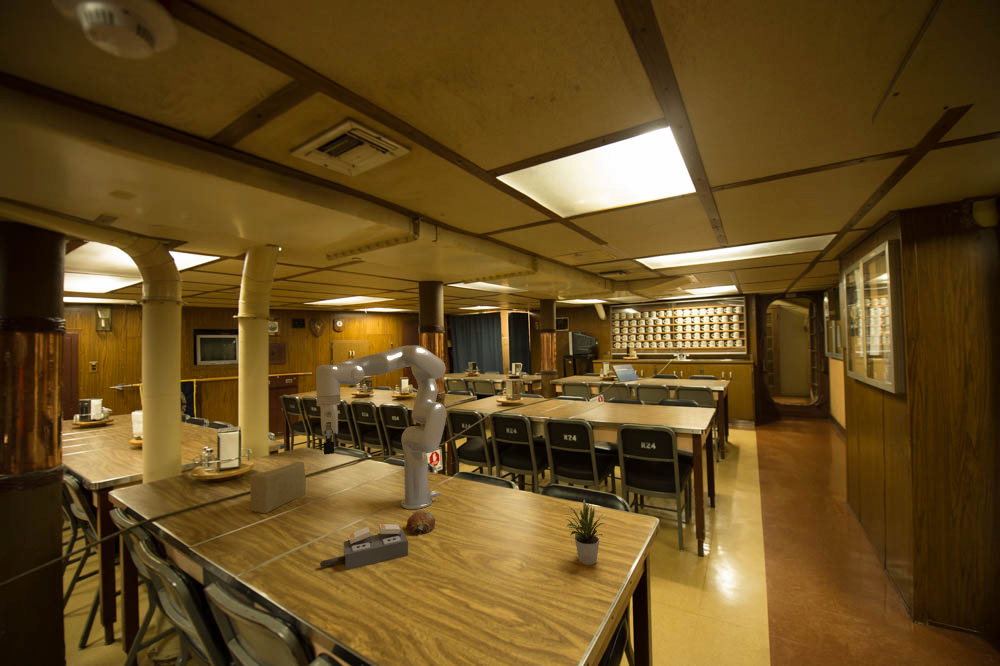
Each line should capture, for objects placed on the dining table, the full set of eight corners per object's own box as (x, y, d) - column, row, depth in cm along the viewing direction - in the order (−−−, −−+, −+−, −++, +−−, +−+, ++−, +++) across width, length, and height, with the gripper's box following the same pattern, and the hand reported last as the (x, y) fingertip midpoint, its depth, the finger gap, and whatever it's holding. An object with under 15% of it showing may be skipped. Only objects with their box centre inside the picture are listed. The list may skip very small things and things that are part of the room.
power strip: (402, 542, 132) (402, 527, 132) (408, 555, 123) (407, 538, 124) (319, 561, 121) (319, 544, 121) (320, 576, 113) (319, 558, 113)
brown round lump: (438, 537, 143) (442, 512, 147) (424, 536, 134) (429, 510, 138) (413, 533, 146) (418, 509, 150) (399, 532, 138) (404, 507, 141)
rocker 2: (397, 528, 131) (398, 524, 131) (399, 533, 127) (400, 528, 127) (378, 528, 128) (379, 523, 128) (380, 533, 125) (381, 528, 125)
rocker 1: (369, 530, 127) (368, 526, 127) (370, 535, 123) (369, 531, 123) (349, 538, 125) (348, 534, 124) (350, 544, 121) (349, 539, 121)
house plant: (558, 546, 126) (557, 494, 127) (602, 545, 126) (600, 493, 127) (564, 571, 112) (562, 512, 113) (614, 571, 112) (612, 511, 112)
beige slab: (297, 492, 182) (297, 459, 183) (312, 495, 178) (312, 461, 179) (249, 511, 162) (249, 473, 163) (265, 514, 158) (265, 476, 159)
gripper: (340, 402, 132) (341, 455, 131) (340, 397, 148) (340, 444, 147) (315, 404, 129) (316, 458, 128) (317, 398, 145) (318, 446, 144)
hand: (329, 450), depth 137 cm, fingers open, 9 cm apart
